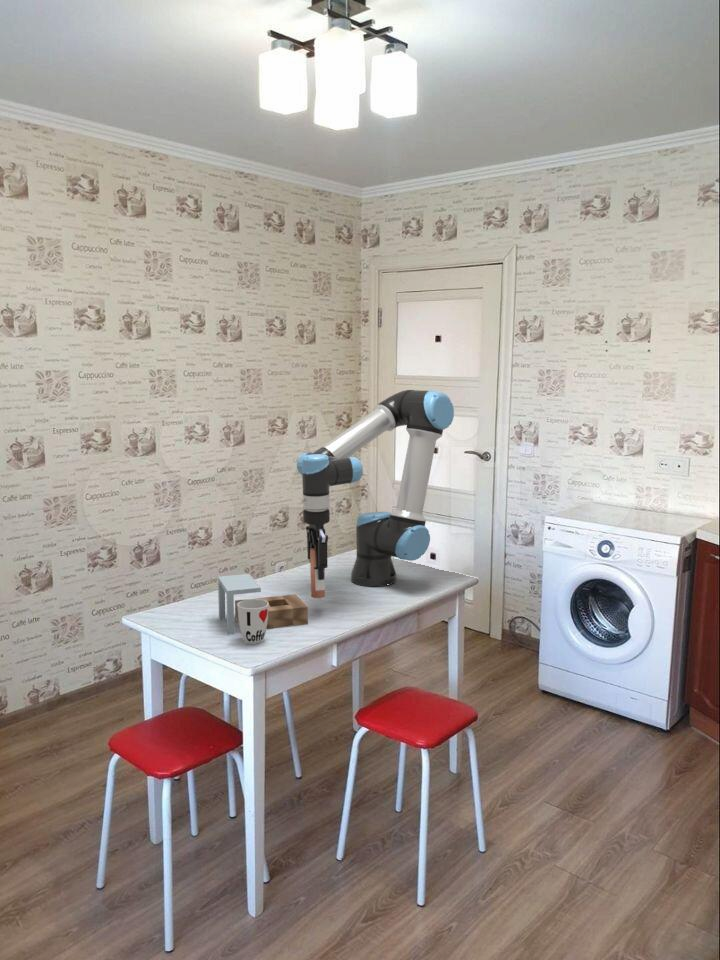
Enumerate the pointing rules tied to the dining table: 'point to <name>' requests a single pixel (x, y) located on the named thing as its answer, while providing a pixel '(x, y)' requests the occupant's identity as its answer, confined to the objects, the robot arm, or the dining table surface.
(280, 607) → the socket block
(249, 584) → the grey-blue stool
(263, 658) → the dining table surface
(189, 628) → the dining table surface
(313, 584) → the dowel
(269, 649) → the dining table surface
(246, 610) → the cup
